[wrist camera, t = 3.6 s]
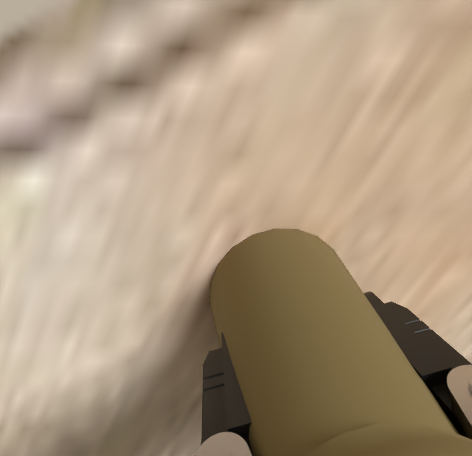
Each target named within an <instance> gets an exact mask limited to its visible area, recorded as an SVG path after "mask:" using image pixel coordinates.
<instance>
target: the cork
mask: <svg viewBox="0 0 472 456" xmlns="http://www.w3.org/2000/svg"><path fill="white" fill-rule="evenodd" d="M210 307H211V311H212V314H213V318H214V322H215V326H216V330H217V334H218V338H219V342H220V346H221V348H222V341H221V332H223V334H224V337H225V341H226V344H227V347H228V351H229V354H230V357H231V361H232V364H233V367H234V370H235V373H236V376H237V379H238V382H239V385H240V388H241V391H242V394H243V397H244V400H245V403H246V406H247V409H248V412H249V415H250V418H251V421H252V423H251V425H250V428H249V441H250V444H251V448H252V451H253V455H254V456H472V440H471V439H469V438H466V437H464V436H461V435H459V433H458V432H457V430H456V429H455V427H454V426H453V424H452V423H451V421H450V420H449V418H448V417H447V415H446V414H445V413H444V411H443V410H442V408H441V407H440V405H439V404H438V402H437V401H436V399H435V398H434V396H433V395H432V393H431V392H430V390H429V389H428V388H427V386H426V385H425V383H424V382H423V380H422V379H421V377H420V376H419V375H418V373H417V372H416V370H415V369H414V368H413V366H412V365H411V364H410V362H409V361H408V360H407V358H406V357H405V355H404V353H403V352H402V350H401V349H400V347H399V346H398V344H397V343H396V341H395V340H394V338H393V336H392V335H391V333H390V332H389V330H388V329H387V327H386V326H385V324H384V323H383V321H382V320H381V318H380V317H379V315H378V314H377V313H376V311H375V310H374V308H373V307H372V305H371V304H370V302H369V301H368V299H367V298H366V296H365V295H364V293H363V292H362V290H361V289H360V288H359V286H358V285H357V283H356V282H355V280H354V279H353V277H352V276H351V274H350V273H349V271H348V270H347V268H346V267H345V265H344V264H343V263H342V261H341V260H340V258H339V257H338V255H337V254H336V252H335V251H334V250H333V249H332V248H331V247H330V246H329V245H327V244H326V243H325V242H324V241H323V240H321V239H320V238H319V237H317V236H315V235H312V234H309V233H306V232H304V231H301V230H298V229H272V230H268V231H265V232H261V233H257V234H254V235H252V236H250V237H248V238H247V239H245V240H244V241H242V242H240V243H239V244H237V245H236V246H234V247H233V248H232V249H231V250H230V251H229V252H228V254H227V255H226V256H225V257H224V258H223V260H222V261H221V262H220V263H219V264H218V267H217V269H216V272H215V274H214V277H213V279H212V282H211V284H210Z"/></svg>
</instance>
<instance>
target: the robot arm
mask: <svg viewBox="0 0 472 456" xmlns="http://www.w3.org/2000/svg"><path fill="white" fill-rule="evenodd" d="M364 295H365V296H366V298H367V299H368V301H369V302H370V304H371V305H372V307H373V308H374V310H375V311H376V313H377V314H378V315H379V317H380V318H381V320H382V321H383V323H384V324H385V326H386V327H387V329H388V330H389V332H390V333H391V335H392V336H393V338H394V340H395V341H396V343H397V344H398V346H399V347H400V349H401V350H402V352H403V353H404V355H405V357H406V358H407V360H408V361H409V362H410V364H411V365H412V366H413V368H414V369H415V370H416V372H417V373H418V375H419V376H420V377H421V379H422V380H423V382H424V383H425V385H426V386H427V388H428V389H429V390H430V392H431V393H432V395H433V396H434V398H435V399H436V401H437V402H438V404H439V405H440V407H441V408H442V410H443V411H444V413H445V414H446V415H447V417H448V418H449V420H450V421H451V423H452V424H453V426H454V427H455V429H456V430H457V432H458V433H459V435H461V436H464V437H466V438H469V439H471V440H472V364H471V363H470V362H469V361H468V360H466V359H465V358H464V357H463V356H462V355H461V354H459V353H458V352H457V351H456V350H455V349H454V348H453V347H451V346H450V345H449V344H448V343H447V342H446V341H444V340H443V339H442V338H441V337H440V336H439V335H437V334H436V333H435V332H434V331H433V330H430V329H429V327H428V326H427V325H426V324H425V323H424V322H422V321H420V320H419V318H418V317H417V316H415V315H414V314H413V313H412V312H411V311H410V310H408V309H407V308H405V307H403V306H400V305H398V304H396V303H393V302H388V303H385V304H384V303H383V302H382V301H381V300H380V299H379V298H378V297H377V296H376V295H375V294H374V293H372V292H366V293H364ZM221 341H222V348H220V349H217V350H213V351H209V354H208V356H207V358H206V360H205V362H204V364H203V400H202V440H201V446H200V447H199V448H198V450H197V451H196V453H195V455H194V456H254V455H253V451H252V448H251V444H250V441H249V428H250V425H251V423H252V421H251V418H250V415H249V412H248V409H247V406H246V403H245V400H244V397H243V394H242V391H241V388H240V385H239V382H238V379H237V376H236V373H235V370H234V367H233V364H232V361H231V357H230V354H229V351H228V347H227V344H226V341H225V337H224V334H223V332H221Z"/></svg>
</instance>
